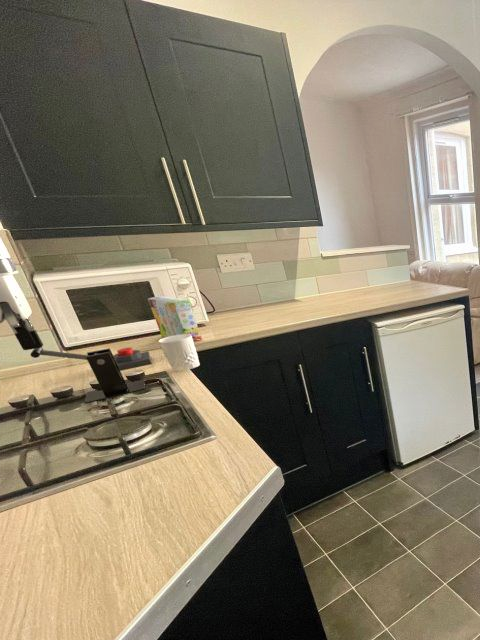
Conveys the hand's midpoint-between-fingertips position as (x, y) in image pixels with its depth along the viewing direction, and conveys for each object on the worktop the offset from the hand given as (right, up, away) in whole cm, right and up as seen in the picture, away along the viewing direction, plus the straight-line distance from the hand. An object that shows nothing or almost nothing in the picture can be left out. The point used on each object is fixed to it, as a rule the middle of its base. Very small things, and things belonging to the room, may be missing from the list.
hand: (33, 347), depth 99 cm
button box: (-7, -3, +33) cm, 34 cm away
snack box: (-12, +9, +60) cm, 61 cm away
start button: (-7, +1, +32) cm, 32 cm away
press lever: (+4, -3, +5) cm, 7 cm away
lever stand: (+8, -11, +12) cm, 19 cm away
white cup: (+15, -4, +27) cm, 32 cm away
